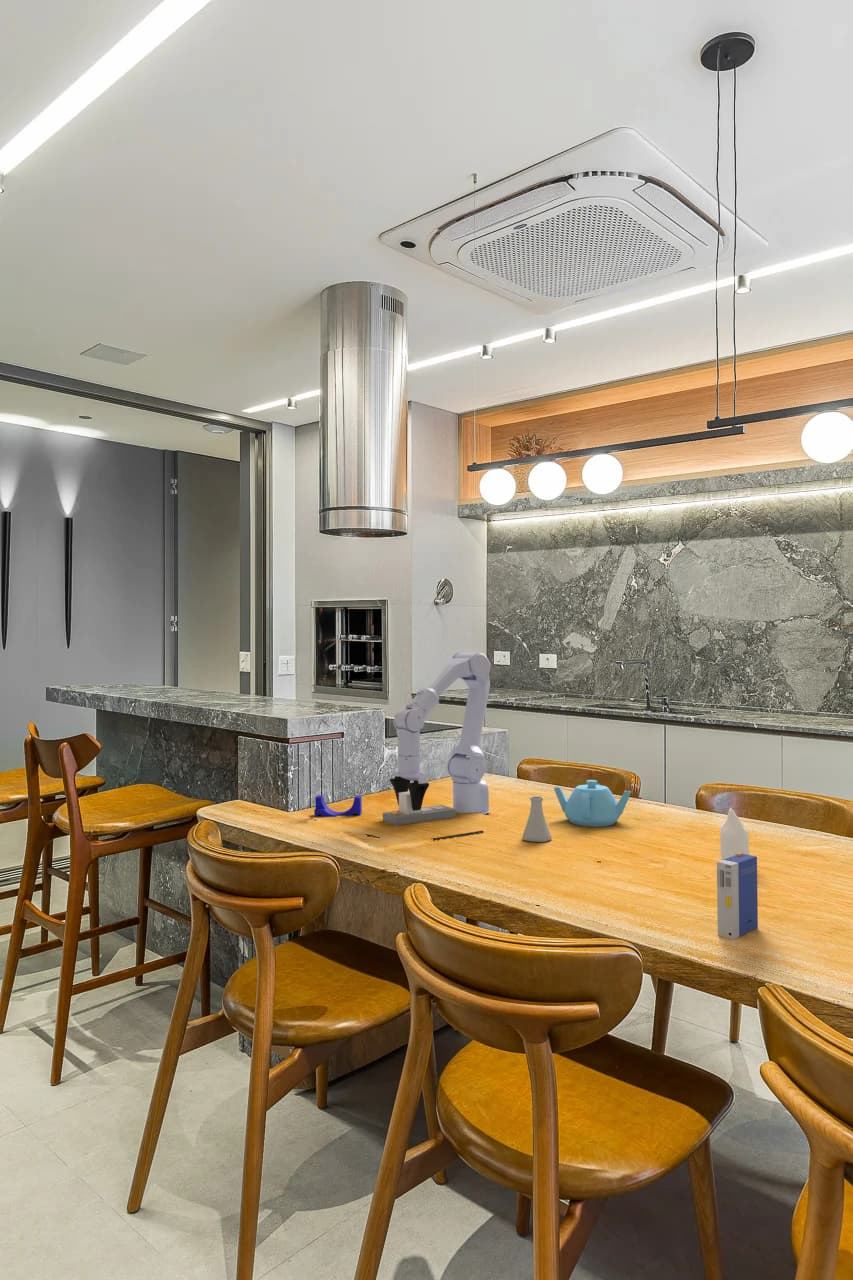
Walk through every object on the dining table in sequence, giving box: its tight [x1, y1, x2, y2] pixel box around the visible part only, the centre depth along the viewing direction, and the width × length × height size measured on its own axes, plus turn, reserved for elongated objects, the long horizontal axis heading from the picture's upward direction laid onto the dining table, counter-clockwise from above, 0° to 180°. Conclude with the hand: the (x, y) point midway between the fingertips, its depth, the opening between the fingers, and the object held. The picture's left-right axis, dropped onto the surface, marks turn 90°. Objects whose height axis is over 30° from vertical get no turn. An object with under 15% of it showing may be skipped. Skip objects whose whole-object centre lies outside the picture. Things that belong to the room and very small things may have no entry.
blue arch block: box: [313, 794, 363, 821], centre depth 219 cm, size 12×4×6 cm, turn 85°
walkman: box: [716, 852, 759, 941], centre depth 131 cm, size 8×3×12 cm, turn 130°
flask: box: [522, 795, 553, 843], centre depth 194 cm, size 7×7×10 cm
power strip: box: [382, 804, 457, 826], centre depth 213 cm, size 18×7×3 cm, turn 121°
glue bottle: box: [719, 807, 750, 860], centre depth 168 cm, size 6×12×6 cm
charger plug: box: [398, 790, 420, 815], centre depth 211 cm, size 4×4×7 cm
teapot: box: [553, 779, 632, 828], centre depth 212 cm, size 15×15×11 cm
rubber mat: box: [431, 830, 484, 841], centre depth 201 cm, size 14×10×1 cm
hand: (409, 807), depth 211 cm, fingers open, 7 cm apart
